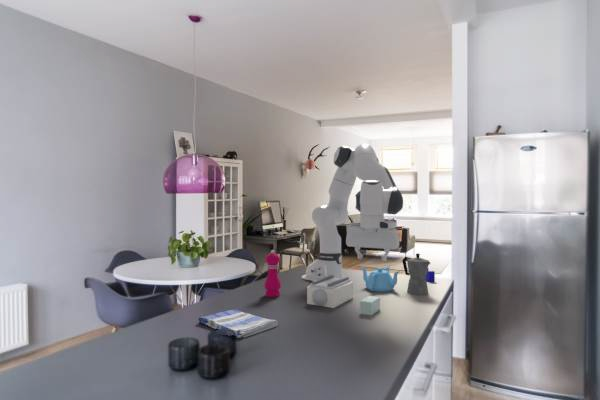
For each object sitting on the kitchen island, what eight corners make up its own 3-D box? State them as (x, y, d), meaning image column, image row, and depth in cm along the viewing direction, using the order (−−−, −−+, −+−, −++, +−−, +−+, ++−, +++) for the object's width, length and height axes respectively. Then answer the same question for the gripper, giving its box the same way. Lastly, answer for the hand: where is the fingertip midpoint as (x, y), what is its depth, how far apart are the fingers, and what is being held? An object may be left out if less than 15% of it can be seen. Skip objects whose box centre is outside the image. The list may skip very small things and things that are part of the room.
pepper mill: (282, 293, 182) (282, 248, 181) (279, 297, 174) (279, 251, 174) (266, 293, 182) (266, 248, 182) (263, 297, 175) (263, 250, 175)
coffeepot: (436, 295, 179) (437, 254, 179) (422, 298, 174) (422, 256, 174) (409, 288, 192) (409, 250, 192) (395, 291, 187) (395, 251, 186)
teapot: (368, 294, 181) (368, 271, 181) (359, 286, 196) (359, 265, 196) (400, 293, 183) (400, 270, 183) (389, 285, 198) (389, 264, 198)
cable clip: (418, 278, 216) (418, 267, 216) (427, 278, 216) (427, 267, 216) (425, 283, 204) (425, 271, 204) (434, 283, 204) (434, 271, 204)
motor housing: (306, 304, 164) (306, 281, 164) (331, 293, 182) (331, 273, 182) (332, 308, 157) (332, 285, 157) (355, 296, 176) (355, 276, 176)
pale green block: (359, 314, 150) (359, 300, 150) (370, 307, 160) (370, 294, 160) (371, 316, 148) (371, 302, 148) (381, 309, 157) (381, 296, 157)
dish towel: (239, 340, 124) (239, 331, 124) (196, 324, 140) (196, 315, 140) (280, 327, 137) (280, 318, 137) (236, 313, 153) (236, 305, 153)
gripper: (343, 222, 156) (343, 258, 156) (395, 224, 145) (395, 263, 145) (350, 221, 161) (350, 256, 161) (400, 223, 151) (400, 260, 151)
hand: (372, 259), depth 153 cm, fingers open, 8 cm apart
